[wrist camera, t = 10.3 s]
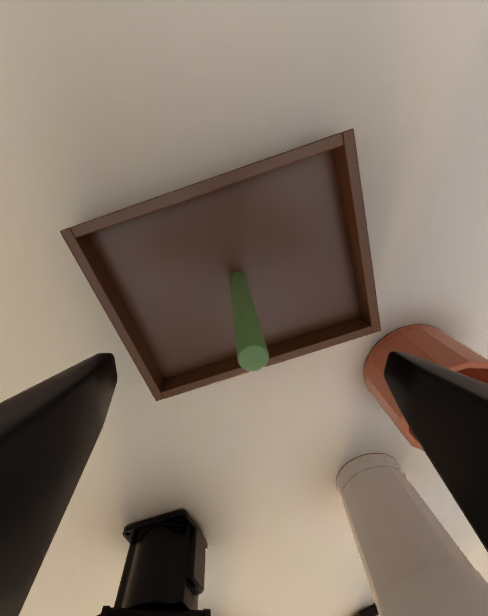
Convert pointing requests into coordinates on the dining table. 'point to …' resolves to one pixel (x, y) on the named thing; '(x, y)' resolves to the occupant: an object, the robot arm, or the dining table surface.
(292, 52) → the dining table surface
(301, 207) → the tray
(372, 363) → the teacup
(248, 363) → the straw
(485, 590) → the cup
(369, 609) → the spread jar
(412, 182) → the dining table surface
